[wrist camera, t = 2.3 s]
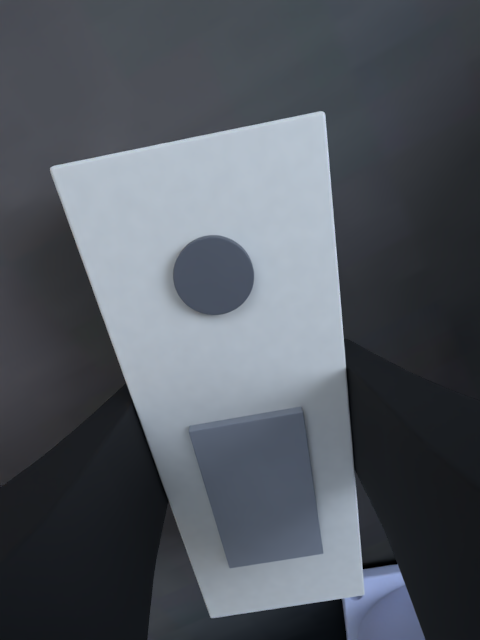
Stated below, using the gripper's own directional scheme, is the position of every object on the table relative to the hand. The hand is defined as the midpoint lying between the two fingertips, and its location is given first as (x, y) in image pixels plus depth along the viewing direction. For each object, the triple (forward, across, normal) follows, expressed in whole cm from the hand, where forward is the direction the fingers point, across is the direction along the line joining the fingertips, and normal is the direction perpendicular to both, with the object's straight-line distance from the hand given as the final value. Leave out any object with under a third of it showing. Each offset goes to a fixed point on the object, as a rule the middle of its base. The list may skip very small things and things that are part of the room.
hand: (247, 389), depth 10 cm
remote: (+1, 0, 0) cm, 1 cm away
